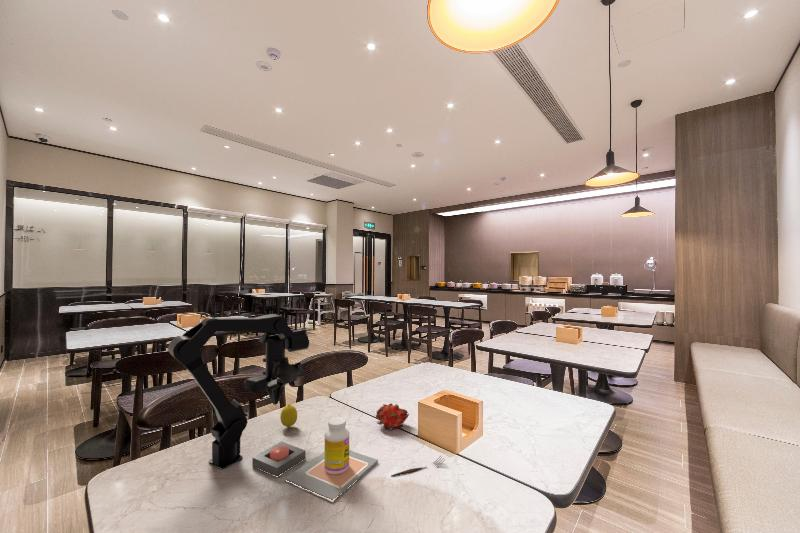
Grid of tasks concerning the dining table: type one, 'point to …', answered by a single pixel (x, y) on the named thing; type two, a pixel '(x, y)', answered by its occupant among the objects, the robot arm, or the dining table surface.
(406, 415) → the dragon fruit
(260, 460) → the button frame
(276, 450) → the button
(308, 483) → the picture board
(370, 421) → the dining table surface
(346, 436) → the supplement bottle
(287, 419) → the lemon
